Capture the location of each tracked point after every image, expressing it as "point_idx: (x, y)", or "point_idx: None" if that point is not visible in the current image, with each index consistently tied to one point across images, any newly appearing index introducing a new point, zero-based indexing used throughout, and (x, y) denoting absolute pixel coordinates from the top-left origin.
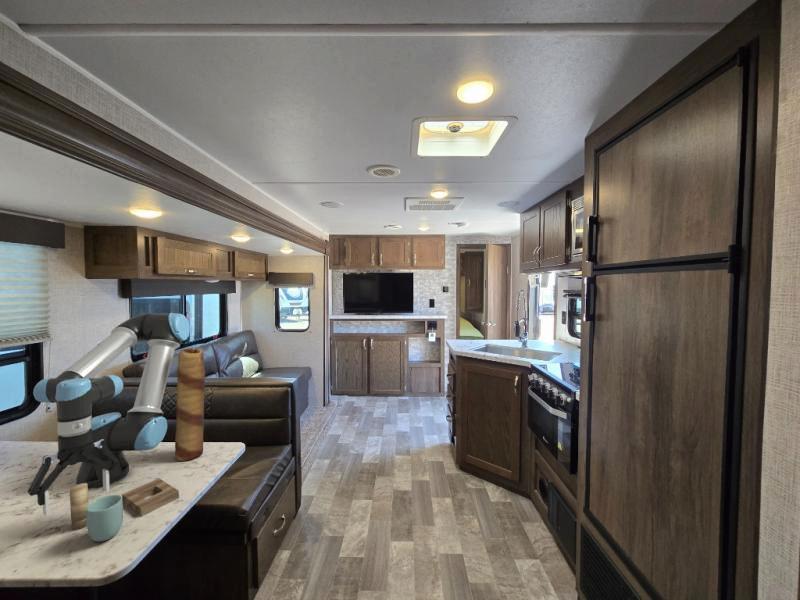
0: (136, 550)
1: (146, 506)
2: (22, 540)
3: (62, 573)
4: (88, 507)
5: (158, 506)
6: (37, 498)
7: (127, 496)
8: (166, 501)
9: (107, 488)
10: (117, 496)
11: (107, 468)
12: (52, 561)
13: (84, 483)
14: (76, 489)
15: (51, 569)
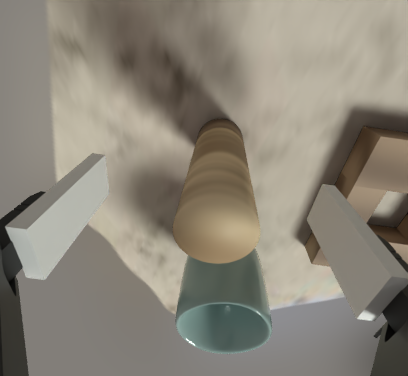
0: None
1: (324, 265)
2: (88, 41)
3: (132, 264)
4: (185, 312)
5: None
6: (7, 215)
7: (365, 173)
8: None
9: (315, 230)
10: (267, 326)
11: (380, 339)
12: (128, 222)
13: (255, 223)
14: (197, 246)
15: (122, 241)
